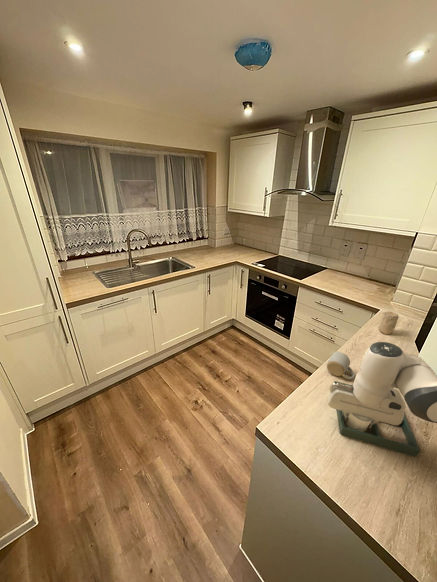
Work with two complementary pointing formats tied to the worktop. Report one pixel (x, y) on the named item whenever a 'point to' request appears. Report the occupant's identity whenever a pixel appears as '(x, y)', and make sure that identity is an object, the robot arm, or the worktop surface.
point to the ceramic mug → (339, 365)
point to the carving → (388, 322)
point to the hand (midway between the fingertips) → (356, 422)
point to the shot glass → (358, 422)
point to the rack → (377, 439)
